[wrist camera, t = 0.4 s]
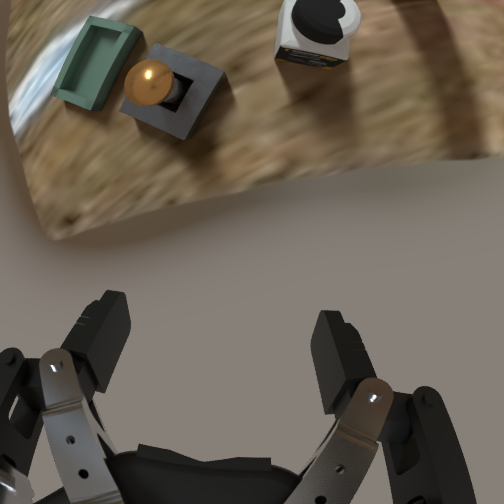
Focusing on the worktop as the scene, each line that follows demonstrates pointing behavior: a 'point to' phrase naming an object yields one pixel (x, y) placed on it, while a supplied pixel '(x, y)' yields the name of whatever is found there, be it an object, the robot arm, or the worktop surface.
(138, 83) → the brass-capped metal pin
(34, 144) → the worktop surface
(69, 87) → the tray
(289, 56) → the medicine bottle
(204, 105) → the block
